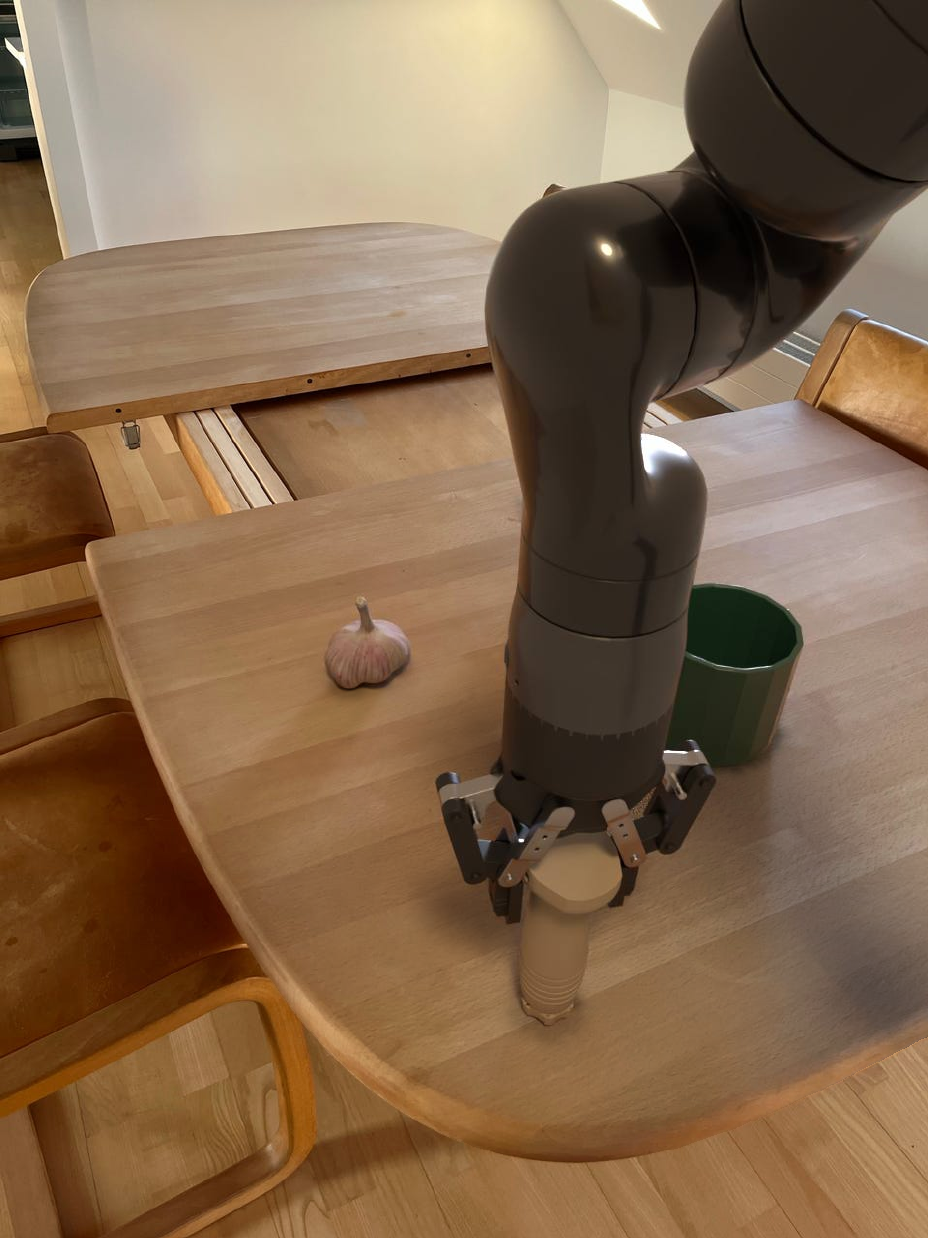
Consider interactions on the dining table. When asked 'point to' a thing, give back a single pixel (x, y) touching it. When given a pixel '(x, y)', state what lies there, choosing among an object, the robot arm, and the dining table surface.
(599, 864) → the handle
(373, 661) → the garlic bulb
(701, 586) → the cup
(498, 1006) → the dining table surface
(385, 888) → the dining table surface
